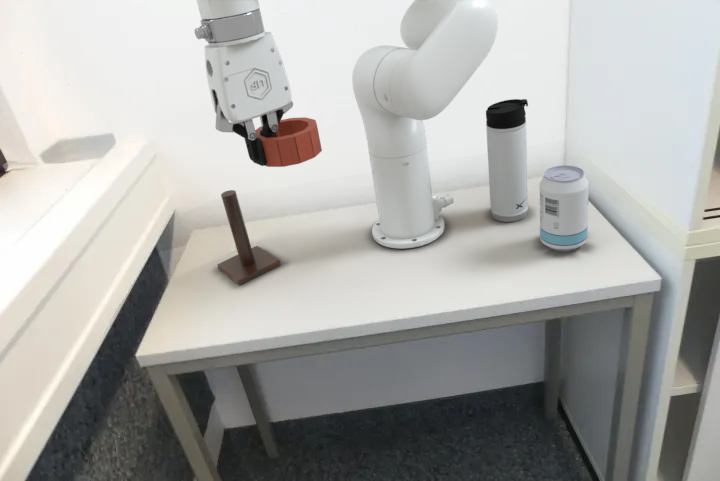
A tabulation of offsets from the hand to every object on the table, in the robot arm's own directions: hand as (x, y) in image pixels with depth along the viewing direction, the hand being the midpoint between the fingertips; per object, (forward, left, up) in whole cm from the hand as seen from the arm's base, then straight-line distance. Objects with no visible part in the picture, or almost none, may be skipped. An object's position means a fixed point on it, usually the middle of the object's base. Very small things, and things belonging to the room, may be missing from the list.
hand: (266, 160), depth 86 cm
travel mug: (-37, +13, -21) cm, 44 cm away
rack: (+3, -10, -21) cm, 24 cm away
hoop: (-4, 0, -1) cm, 4 cm away
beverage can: (-34, +26, -21) cm, 47 cm away
